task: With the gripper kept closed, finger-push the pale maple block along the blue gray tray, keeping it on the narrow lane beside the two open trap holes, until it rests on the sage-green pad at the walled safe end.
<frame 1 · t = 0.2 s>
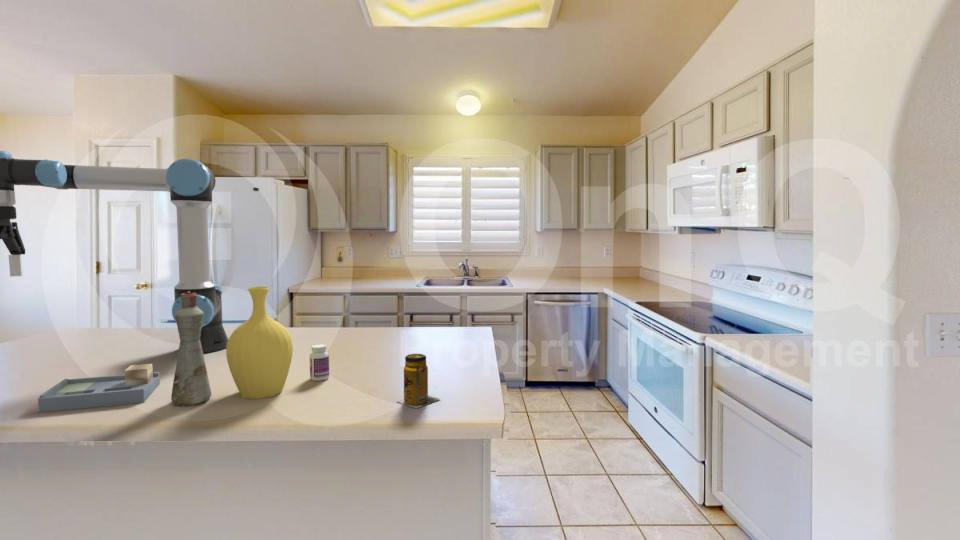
hand: (3, 278, 144), 28 cm above the countertop, fingers open, 13 cm apart
vase: (261, 392, 131), on the countertop
bottle: (192, 402, 124), on the countertop
pill bottle: (319, 379, 143), on the countertop
condiment: (418, 401, 126), on the countertop
blue gray tray: (104, 397, 126), on the countertop
block: (139, 381, 131), point 2 cm above the countertop, touching blue gray tray
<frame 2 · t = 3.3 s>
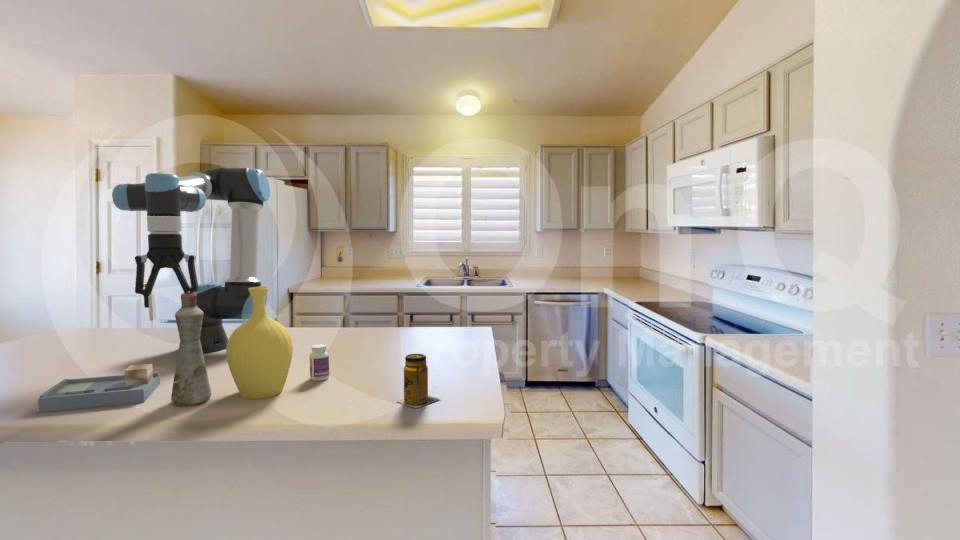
hand: (169, 318, 132), 19 cm above the countertop, fingers open, 7 cm apart
nothing on the countertop moved.
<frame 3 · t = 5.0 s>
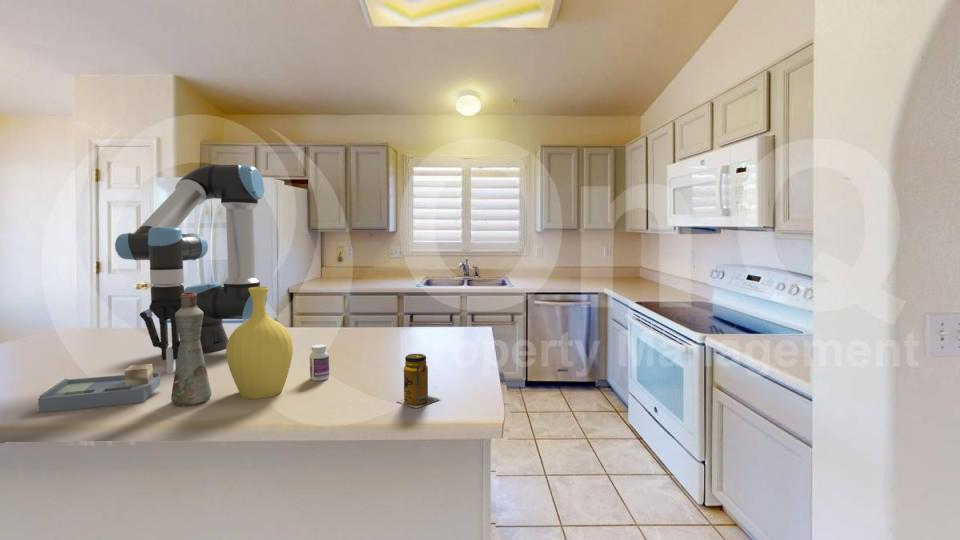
hand: (171, 371, 133), 5 cm above the countertop, fingers closed
nothing on the countertop moved.
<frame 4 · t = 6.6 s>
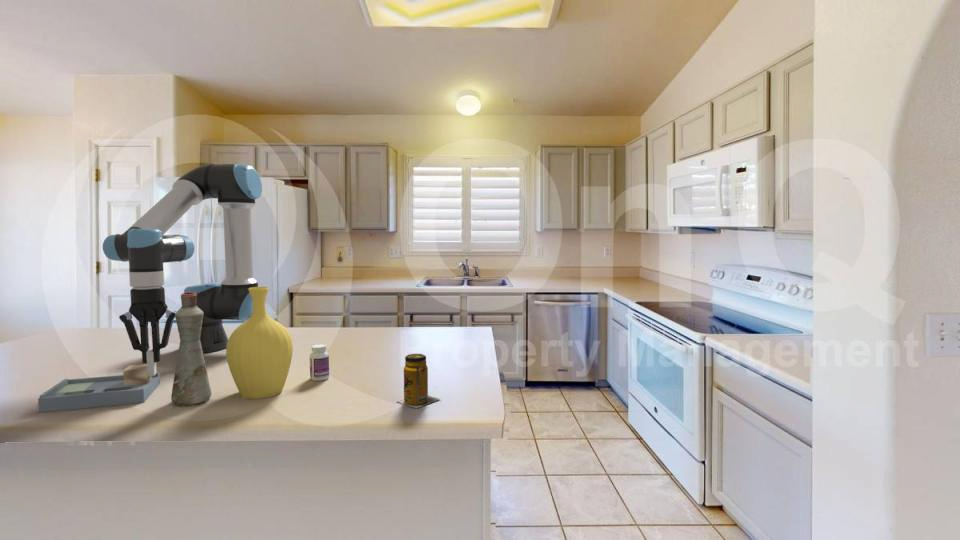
hand: (152, 374, 132), 4 cm above the countertop, fingers closed
block: (138, 381, 131), point 2 cm above the countertop, touching blue gray tray, gripper
everything else where it was.
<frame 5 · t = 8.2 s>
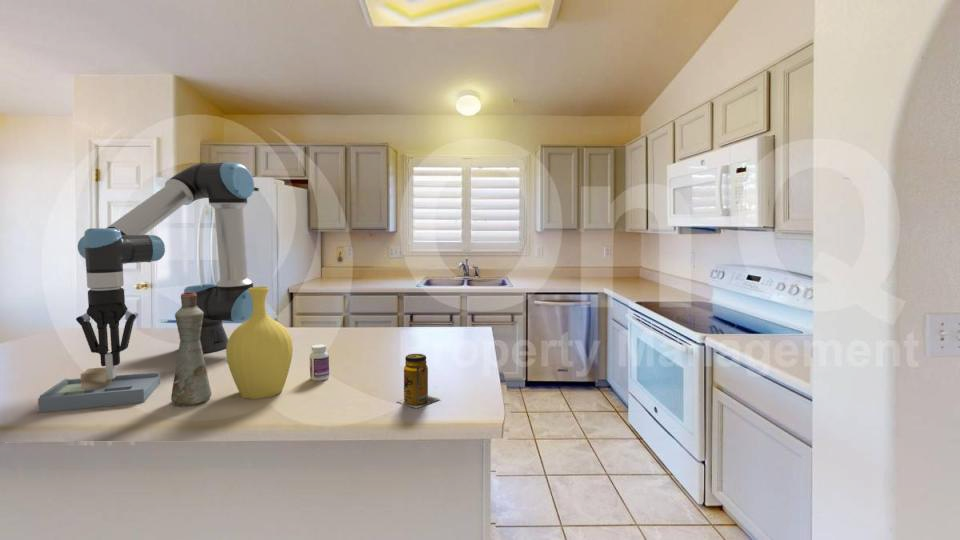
hand: (111, 377, 129), 4 cm above the countertop, fingers closed
block: (97, 385, 128), point 2 cm above the countertop, touching gripper
everything else where it was.
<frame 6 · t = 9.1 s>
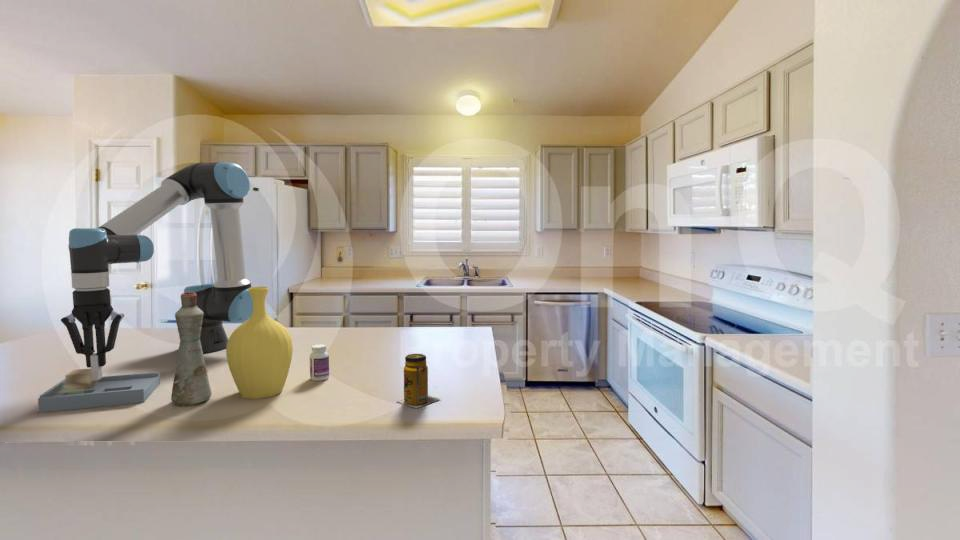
hand: (97, 378, 128), 4 cm above the countertop, fingers closed
block: (82, 386, 127), point 2 cm above the countertop, touching blue gray tray
everything else where it was.
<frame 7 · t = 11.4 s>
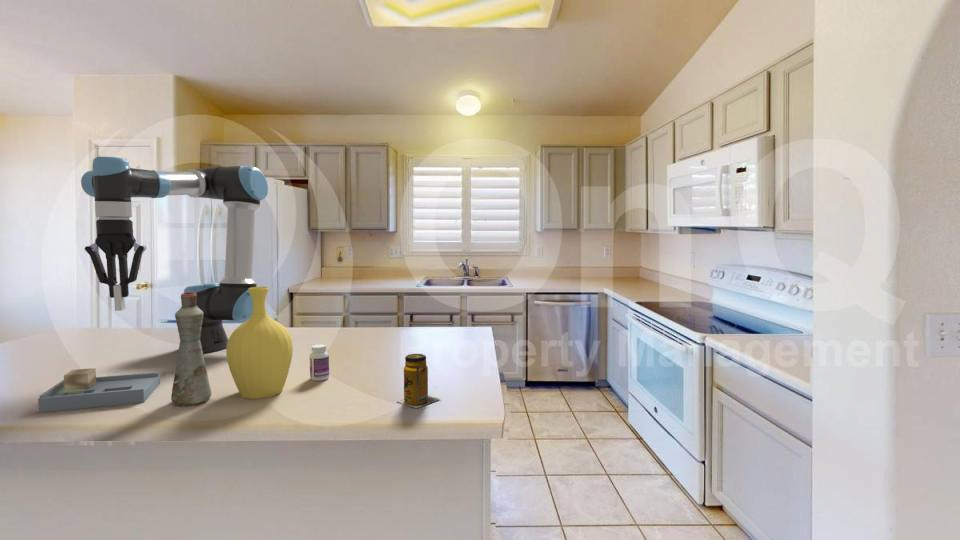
hand: (120, 309, 128), 22 cm above the countertop, fingers closed
nothing on the countertop moved.
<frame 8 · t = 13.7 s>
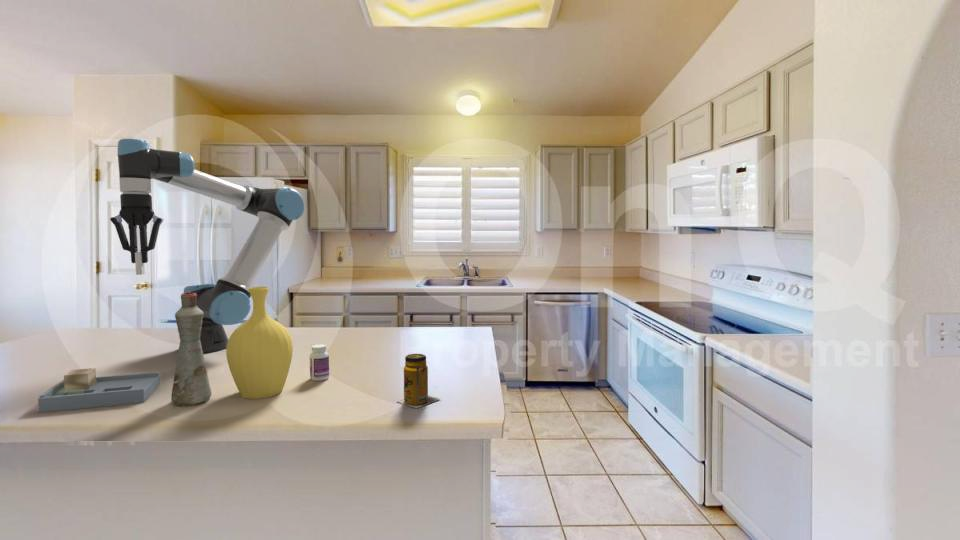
hand: (140, 274, 146), 29 cm above the countertop, fingers closed
nothing on the countertop moved.
at the end: block 0.2 cm from the target spot on the blue gray tray, point 2.4 cm above the blue gray tray's base; block tilted 0° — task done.
